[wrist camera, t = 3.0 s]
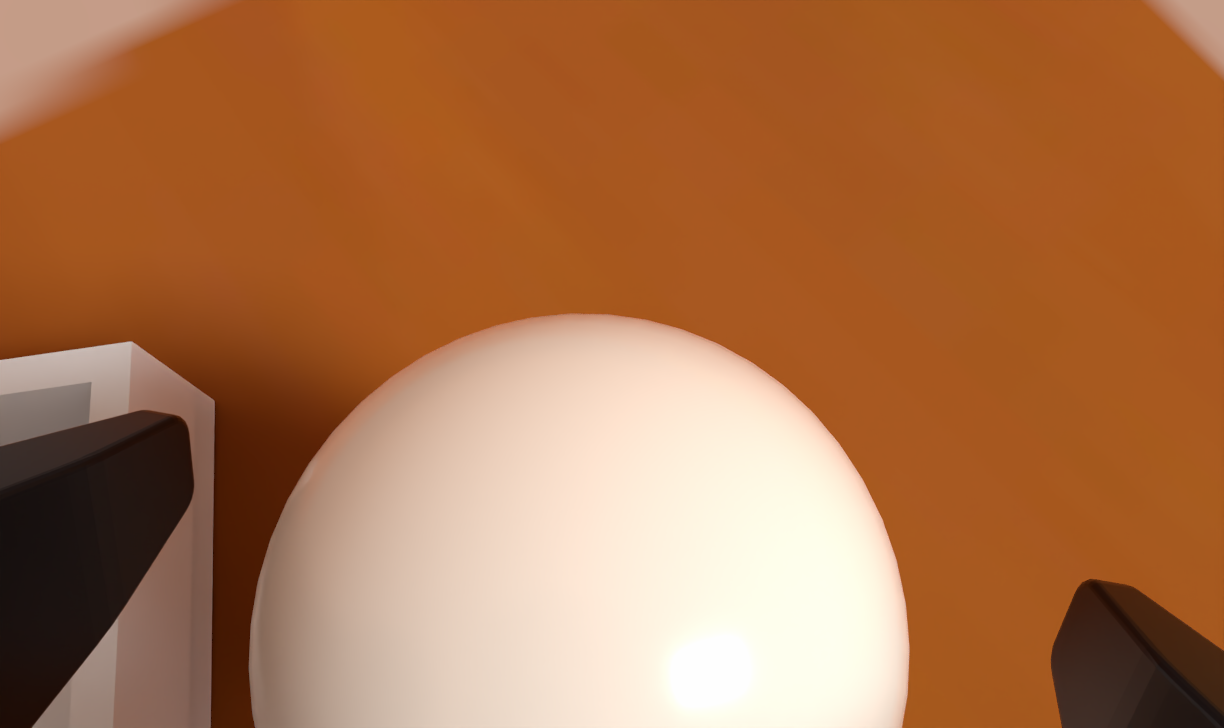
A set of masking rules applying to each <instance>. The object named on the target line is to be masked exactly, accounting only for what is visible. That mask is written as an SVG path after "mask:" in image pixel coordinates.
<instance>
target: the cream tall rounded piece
mask: <svg viewBox="0 0 1224 728" xmlns="http://www.w3.org/2000/svg"><path fill="white" fill-rule="evenodd" d="M908 670H909V638H908V626H907V614H906V603H905V598H904V594H903V589H902V584H901V580H900V575H899V570H898V565H897V561H896V558H895V555H894V552H893V549H892V546H891V543H890V540H889V537H888V535H887V532H886V529H885V526H884V523H883V520H882V518H881V516H880V514H879V512H878V510H877V508H876V506H875V504H874V502H873V500H872V498H871V496H870V494H869V492H868V489H867V487H866V485H865V483H864V481H863V480H862V478H861V477H860V475H859V473H858V472H857V470H856V469H855V467H854V466H853V464H852V463H851V461H850V460H849V458H848V457H847V455H846V454H845V452H844V451H843V449H842V447H841V446H840V444H839V443H838V442H837V441H836V439H835V438H834V437H833V436H832V435H831V434H830V432H829V431H828V430H827V429H826V428H825V426H824V425H823V424H822V423H821V422H820V421H819V419H818V418H817V417H816V416H815V415H814V413H813V412H812V411H811V410H810V409H808V408H807V407H806V406H805V405H804V404H803V403H802V402H801V401H800V400H799V399H798V398H797V397H795V396H794V395H793V394H792V393H791V392H790V391H789V390H788V389H787V388H786V387H785V386H784V385H782V384H781V383H779V382H778V381H777V380H775V379H774V378H773V377H771V376H770V375H768V374H767V373H766V372H764V371H763V370H761V369H760V368H759V367H757V366H756V365H755V364H753V363H752V362H750V361H748V360H746V359H745V358H743V357H741V356H739V355H737V354H735V353H734V352H732V351H730V350H728V349H726V348H725V347H723V346H721V345H719V344H717V343H715V342H712V341H710V340H707V339H705V338H702V337H700V336H697V335H695V334H692V333H690V332H687V331H685V330H682V329H679V328H675V327H671V326H667V325H664V324H660V323H656V322H652V321H649V320H644V319H637V318H630V317H623V316H616V315H609V314H562V315H552V316H542V317H532V318H528V319H523V320H519V321H514V322H510V323H505V324H501V325H496V326H493V327H490V328H488V329H485V330H482V331H479V332H476V333H473V334H470V335H468V336H465V337H462V338H459V339H457V340H455V341H453V342H451V343H449V344H447V345H445V346H443V347H441V348H439V349H437V350H435V351H433V352H431V353H429V354H427V355H425V356H423V357H421V358H420V359H418V360H417V361H415V362H414V363H412V364H411V365H409V366H407V367H406V368H404V369H403V370H401V371H400V372H398V373H397V374H395V375H394V376H392V377H391V378H390V379H388V380H387V381H386V382H385V383H383V384H382V385H381V386H380V387H379V388H377V389H376V390H375V391H374V392H373V393H371V394H370V395H369V396H368V397H367V398H365V399H364V400H363V401H362V402H361V403H360V404H359V405H358V406H357V407H356V408H355V409H354V410H353V411H352V412H351V413H350V414H349V415H348V416H347V417H346V418H345V419H344V420H343V421H342V422H341V424H340V425H339V426H338V427H337V428H336V429H335V430H334V431H333V432H332V433H331V435H330V436H329V437H328V439H327V440H326V441H325V443H324V444H323V445H322V447H321V448H320V449H319V451H318V452H317V453H316V455H315V456H314V457H313V459H312V460H311V461H310V463H309V464H308V466H307V467H306V469H305V471H304V472H303V474H302V476H301V478H300V479H299V481H298V483H297V484H296V486H295V488H294V490H293V491H292V493H291V495H290V496H289V498H288V500H287V502H286V504H285V507H284V509H283V511H282V514H281V516H280V518H279V521H278V523H277V525H276V528H275V530H274V532H273V534H272V537H271V539H270V542H269V546H268V549H267V552H266V556H265V559H264V562H263V566H262V569H261V573H260V576H259V579H258V584H257V590H256V596H255V602H254V608H253V614H252V619H251V628H250V651H249V679H250V691H251V703H252V715H253V719H254V724H255V728H902V723H903V717H904V711H905V706H906V700H907V692H908Z"/></svg>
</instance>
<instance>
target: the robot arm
mask: <svg viewBox="0 0 1224 728" xmlns="http://www.w3.org/2000/svg"><path fill="white" fill-rule="evenodd" d="M193 493H194V474H193V464H192V454H191V444H190V434H189V429H188V425H187V423H186V421H185V420H184V419H183V418H181V417H180V416H178V415H174V414H168V413H163V412H157V411H151V410H139V411H135V412H131V413H127V414H123V415H119V416H116V417H112V418H108V419H104V420H100V421H96V422H92V423H88V424H85V425H81V426H77V427H73V428H69V429H65V430H61V431H57V432H54V433H50V434H46V435H42V436H38V437H34V438H30V439H27V440H23V441H19V442H15V443H11V444H7V445H3V446H0V728H32V727H33V726H34V724H35V723H36V722H37V721H38V719H39V718H40V717H41V716H42V714H43V713H44V712H45V711H46V709H47V708H48V707H49V705H50V704H51V703H52V702H53V700H54V699H55V698H56V697H57V695H58V694H59V693H60V692H61V690H62V689H63V688H64V687H65V685H66V684H67V683H68V682H69V680H70V679H71V678H72V677H73V675H74V674H75V673H76V672H77V670H78V669H79V668H80V666H81V665H82V664H83V663H84V661H85V660H86V659H87V658H88V656H89V655H90V654H91V653H92V651H93V650H94V649H95V648H96V646H97V645H98V644H99V642H100V641H101V640H102V638H103V637H104V636H105V634H106V633H107V632H108V630H109V629H110V628H111V626H112V625H113V624H114V622H115V621H116V619H117V618H118V616H119V615H120V613H121V612H122V610H123V609H124V608H125V606H126V605H127V603H128V601H129V600H130V598H131V597H132V595H133V594H134V592H135V590H136V589H137V587H138V586H139V584H140V583H141V581H142V580H143V578H144V576H145V575H146V573H147V572H148V570H149V569H150V567H151V565H152V564H153V562H154V561H155V559H156V558H157V556H158V554H159V553H160V551H161V550H162V548H163V547H164V545H165V544H166V542H167V540H168V539H169V537H170V536H171V534H172V533H173V531H174V529H175V528H176V526H177V525H178V523H179V522H180V520H181V518H182V517H183V515H184V514H185V512H186V511H187V509H188V507H189V505H190V503H191V500H192V497H193ZM1051 669H1052V676H1053V681H1054V687H1055V692H1056V697H1057V703H1058V708H1059V713H1060V719H1061V724H1062V728H1224V651H1223V650H1222V649H1220V648H1219V647H1217V646H1216V645H1215V644H1213V643H1212V642H1210V641H1209V640H1208V639H1206V638H1205V637H1203V636H1202V635H1201V634H1199V633H1198V632H1196V631H1195V630H1194V629H1192V628H1191V627H1189V626H1188V625H1186V624H1185V623H1184V622H1182V621H1181V620H1179V619H1178V618H1177V617H1175V616H1174V615H1172V614H1171V613H1170V612H1168V611H1167V610H1165V609H1164V608H1163V607H1161V606H1160V605H1158V604H1157V603H1156V602H1154V601H1153V600H1151V599H1150V598H1148V597H1147V596H1146V595H1144V594H1143V593H1141V592H1140V591H1139V590H1137V589H1136V588H1134V587H1131V586H1128V585H1124V584H1119V583H1113V582H1107V581H1102V580H1096V579H1089V580H1087V581H1085V582H1082V584H1081V585H1080V586H1079V587H1078V589H1077V590H1076V592H1075V594H1074V597H1073V599H1072V601H1071V604H1070V606H1069V609H1068V611H1067V613H1066V616H1065V618H1064V620H1063V623H1062V625H1061V628H1060V630H1059V632H1058V635H1057V637H1056V639H1055V642H1054V645H1053V649H1052V655H1051Z"/></svg>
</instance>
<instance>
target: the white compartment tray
mask: <svg viewBox="0 0 1224 728" xmlns="http://www.w3.org/2000/svg"><path fill="white" fill-rule="evenodd" d="M139 410H151V411H157V412H163V413H168V414H174V415H178V416H180V417H181V418H183V419H184V420H185V421H186V423H187V425H188V429H189V434H190V444H191V454H192V464H193V474H194V493H193V497H192V500H191V503H190V505H189V507H188V509H187V511H186V512H185V514H184V515H183V517H182V518H181V520H180V522H179V523H178V525H177V526H176V528H175V529H174V531H173V533H172V534H171V536H170V537H169V539H168V540H167V542H166V544H165V545H164V547H163V548H162V550H161V551H160V553H159V554H158V556H157V558H156V559H155V561H154V562H153V564H152V565H151V567H150V569H149V570H148V572H147V573H146V575H145V576H144V578H143V580H142V581H141V583H140V584H139V586H138V587H137V589H136V590H135V592H134V594H133V595H132V597H131V598H130V600H129V601H128V603H127V605H126V606H125V608H124V609H123V610H122V612H121V613H120V615H119V616H118V618H117V619H116V621H115V622H114V624H113V625H112V626H111V628H110V629H109V630H108V632H107V633H106V634H105V636H104V637H103V638H102V640H101V641H100V642H99V644H98V645H97V646H96V648H95V649H94V650H93V651H92V653H91V654H90V655H89V656H88V658H87V659H86V660H85V661H84V663H83V664H82V665H81V666H80V668H79V669H78V670H77V672H76V673H75V674H74V675H73V677H72V678H71V679H70V680H69V682H68V683H67V684H66V685H65V687H64V688H63V689H62V690H61V692H60V693H59V694H58V695H57V697H56V698H55V699H54V700H53V702H52V703H51V704H50V705H49V707H48V708H47V709H46V711H45V712H44V713H43V714H42V716H41V717H40V718H39V719H38V721H37V722H36V723H35V724H34V726H33V727H32V728H211V668H212V587H213V507H214V426H215V401H214V400H213V399H212V398H210V397H209V396H207V395H206V394H205V393H203V392H202V391H200V390H199V389H198V388H196V387H195V386H193V385H192V384H191V383H189V382H188V381H186V380H185V379H184V378H182V377H181V376H180V375H178V374H177V373H175V372H174V371H173V370H171V369H170V368H168V367H167V366H166V365H164V364H163V363H161V362H160V361H159V360H157V359H156V358H154V357H153V356H152V355H150V354H149V353H147V352H146V351H145V350H143V349H142V348H140V347H139V346H138V345H136V344H135V343H134V342H132V341H131V342H124V343H117V344H110V345H103V346H96V347H89V348H82V349H75V350H68V351H61V352H54V353H47V354H40V355H33V356H26V357H19V358H12V359H5V360H0V446H3V445H7V444H11V443H15V442H19V441H23V440H27V439H30V438H34V437H38V436H42V435H46V434H50V433H54V432H57V431H61V430H65V429H69V428H73V427H77V426H81V425H85V424H88V423H92V422H96V421H100V420H104V419H108V418H112V417H116V416H119V415H123V414H127V413H131V412H135V411H139Z"/></svg>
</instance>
